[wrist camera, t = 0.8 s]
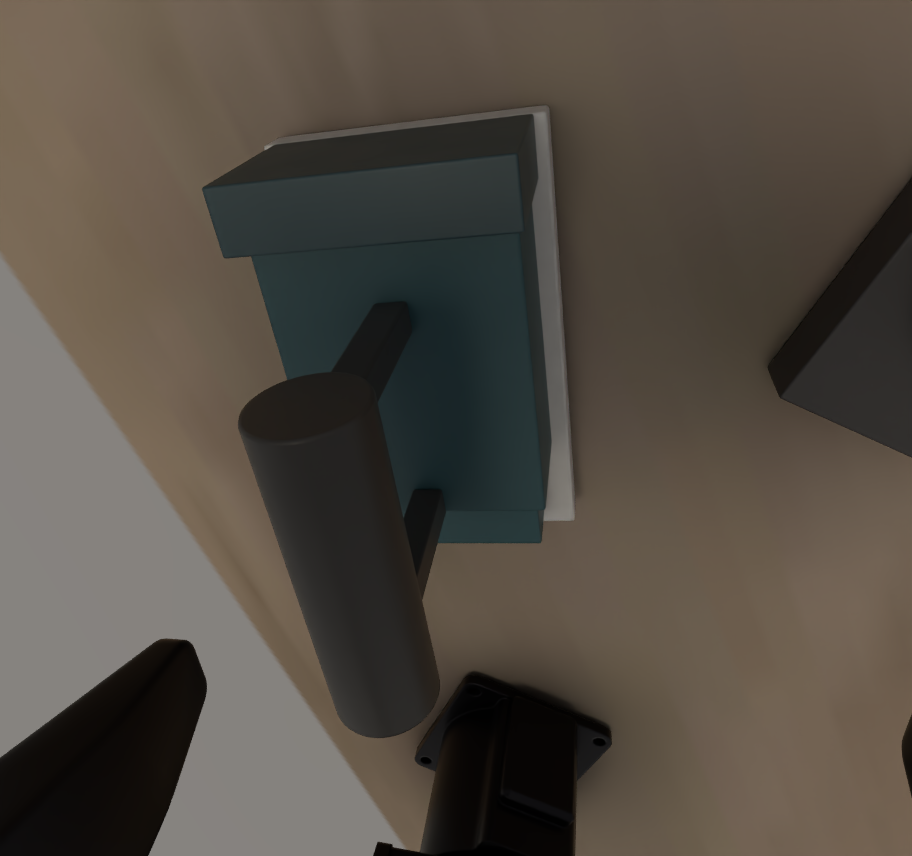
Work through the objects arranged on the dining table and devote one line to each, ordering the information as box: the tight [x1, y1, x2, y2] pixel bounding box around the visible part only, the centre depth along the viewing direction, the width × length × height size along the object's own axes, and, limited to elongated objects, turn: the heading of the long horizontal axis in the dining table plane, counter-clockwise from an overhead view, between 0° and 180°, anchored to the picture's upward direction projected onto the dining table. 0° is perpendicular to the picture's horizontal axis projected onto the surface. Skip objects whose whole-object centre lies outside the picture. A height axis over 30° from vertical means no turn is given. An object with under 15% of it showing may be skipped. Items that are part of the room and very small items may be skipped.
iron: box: [202, 105, 575, 738], centre depth 17 cm, size 12×7×11 cm, turn 7°
